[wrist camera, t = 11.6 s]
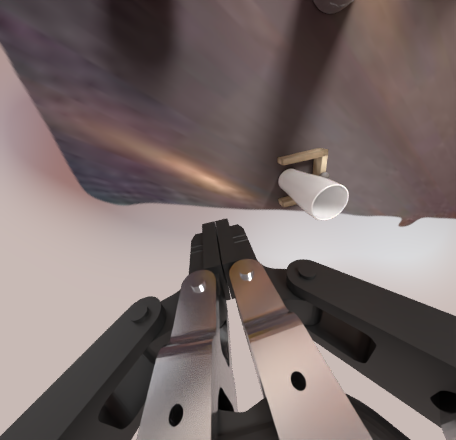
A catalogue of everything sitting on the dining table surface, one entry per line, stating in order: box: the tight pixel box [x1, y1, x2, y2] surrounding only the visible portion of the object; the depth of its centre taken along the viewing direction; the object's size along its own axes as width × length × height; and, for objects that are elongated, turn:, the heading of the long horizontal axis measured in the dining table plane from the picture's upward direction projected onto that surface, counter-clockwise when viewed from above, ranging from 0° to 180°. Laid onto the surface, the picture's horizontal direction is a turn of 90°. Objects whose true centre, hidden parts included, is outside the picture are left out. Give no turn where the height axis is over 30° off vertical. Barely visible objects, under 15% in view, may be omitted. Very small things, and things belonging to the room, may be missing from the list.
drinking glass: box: [279, 169, 349, 221], centre depth 34 cm, size 7×7×15 cm
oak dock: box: [278, 148, 329, 207], centre depth 39 cm, size 11×10×4 cm
